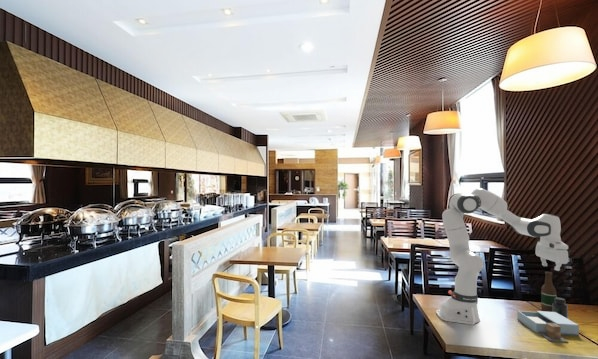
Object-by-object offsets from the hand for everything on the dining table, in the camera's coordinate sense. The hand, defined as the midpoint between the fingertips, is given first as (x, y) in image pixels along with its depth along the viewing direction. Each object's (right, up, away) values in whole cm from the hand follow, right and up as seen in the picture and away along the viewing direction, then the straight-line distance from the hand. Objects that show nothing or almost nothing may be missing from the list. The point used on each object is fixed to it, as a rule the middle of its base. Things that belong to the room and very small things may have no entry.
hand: (550, 268), depth 165 cm
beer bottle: (+14, -32, +18) cm, 39 cm away
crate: (-6, -31, -4) cm, 32 cm away
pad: (-12, -31, -16) cm, 37 cm away
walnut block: (-12, -30, -16) cm, 36 cm away
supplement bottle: (+10, -32, +6) cm, 34 cm away
